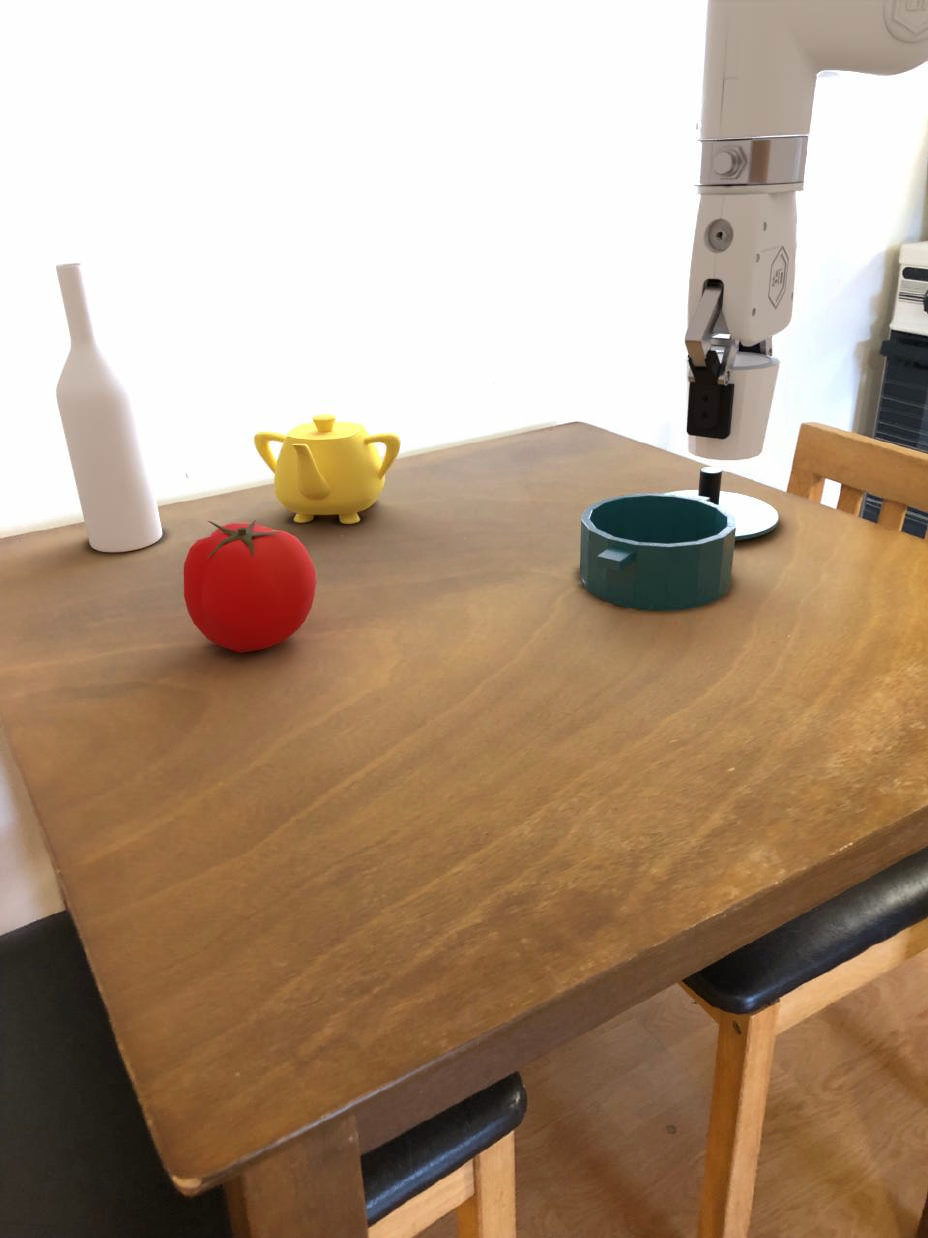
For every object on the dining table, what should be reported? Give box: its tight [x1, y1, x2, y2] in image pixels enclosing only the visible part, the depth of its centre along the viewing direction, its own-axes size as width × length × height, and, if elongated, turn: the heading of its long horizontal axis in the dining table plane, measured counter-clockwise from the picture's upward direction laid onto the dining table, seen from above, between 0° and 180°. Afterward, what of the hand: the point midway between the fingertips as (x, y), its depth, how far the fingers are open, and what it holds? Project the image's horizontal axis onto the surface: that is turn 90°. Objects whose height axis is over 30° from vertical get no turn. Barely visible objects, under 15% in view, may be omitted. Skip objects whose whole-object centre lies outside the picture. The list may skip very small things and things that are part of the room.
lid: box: [664, 466, 780, 541], centre depth 106 cm, size 16×16×6 cm
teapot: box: [253, 413, 401, 525], centre depth 112 cm, size 14×14×12 cm
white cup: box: [685, 351, 781, 461], centre depth 71 cm, size 7×7×7 cm
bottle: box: [55, 262, 163, 553], centre depth 101 cm, size 8×8×30 cm
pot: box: [579, 492, 736, 612], centre depth 92 cm, size 15×20×6 cm
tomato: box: [183, 519, 317, 654], centre depth 82 cm, size 12×12×11 cm
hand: (726, 422), depth 72 cm, fingers closed on white cup, 6 cm apart
